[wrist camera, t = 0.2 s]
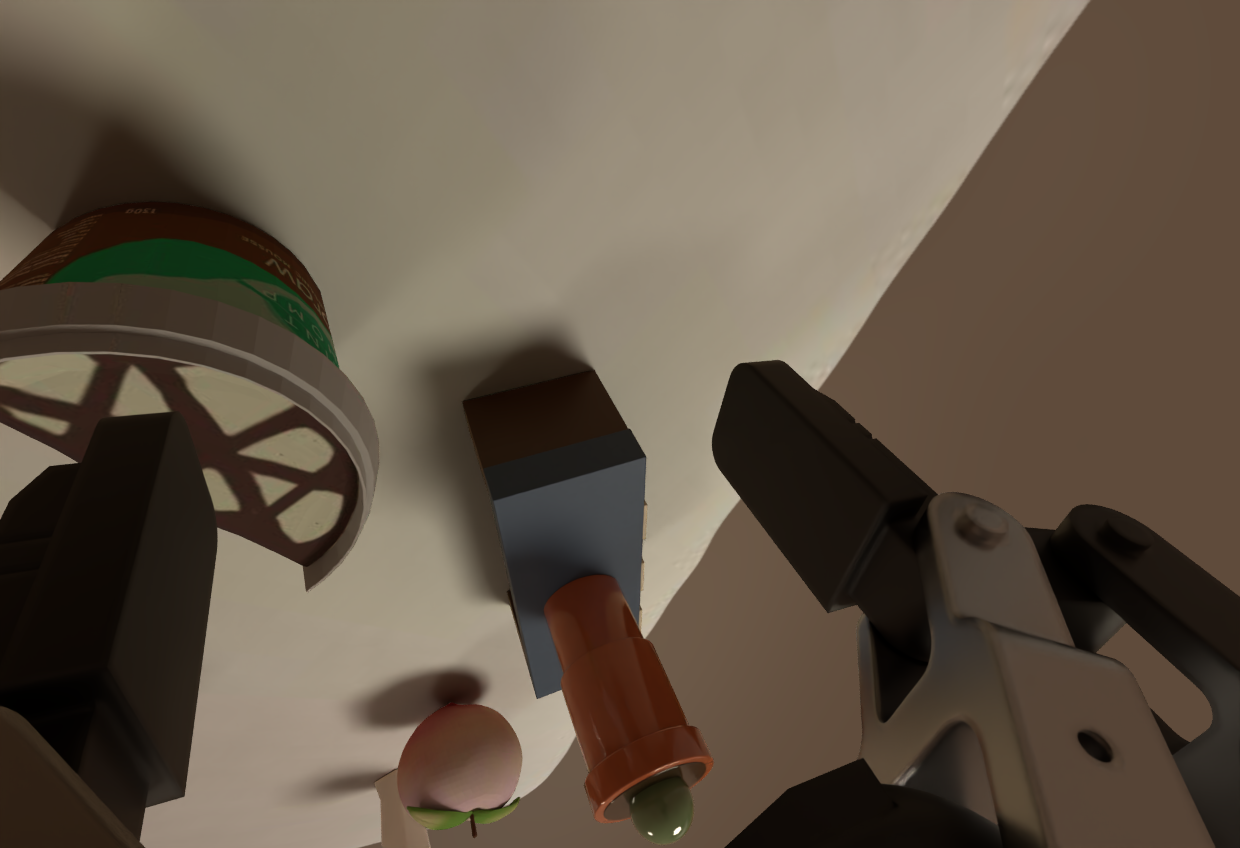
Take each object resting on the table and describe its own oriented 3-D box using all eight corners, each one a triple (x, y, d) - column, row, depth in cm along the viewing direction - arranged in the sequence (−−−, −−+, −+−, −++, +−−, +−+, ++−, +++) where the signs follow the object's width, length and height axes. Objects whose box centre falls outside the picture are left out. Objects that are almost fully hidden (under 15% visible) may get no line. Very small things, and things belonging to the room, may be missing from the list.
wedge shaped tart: (422, 339, 28) (465, 502, 21) (312, 414, 28) (319, 597, 21) (157, 77, 19) (82, 215, 12) (0, 193, 19) (-159, 391, 12)
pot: (535, 579, 31) (624, 845, 23) (638, 556, 33) (753, 791, 25) (527, 640, 34) (601, 888, 26) (621, 616, 37) (716, 838, 28)
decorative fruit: (523, 667, 51) (559, 794, 44) (484, 720, 55) (512, 845, 48) (411, 676, 45) (432, 822, 39) (376, 734, 49) (390, 877, 42)
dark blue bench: (461, 398, 31) (492, 501, 26) (597, 365, 32) (650, 455, 28) (510, 607, 44) (537, 699, 40) (604, 575, 46) (640, 660, 42)
